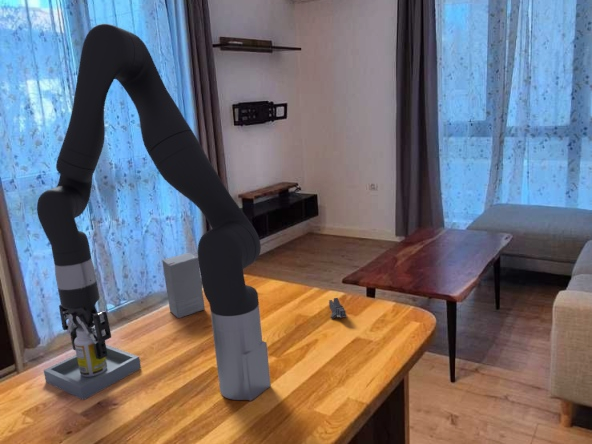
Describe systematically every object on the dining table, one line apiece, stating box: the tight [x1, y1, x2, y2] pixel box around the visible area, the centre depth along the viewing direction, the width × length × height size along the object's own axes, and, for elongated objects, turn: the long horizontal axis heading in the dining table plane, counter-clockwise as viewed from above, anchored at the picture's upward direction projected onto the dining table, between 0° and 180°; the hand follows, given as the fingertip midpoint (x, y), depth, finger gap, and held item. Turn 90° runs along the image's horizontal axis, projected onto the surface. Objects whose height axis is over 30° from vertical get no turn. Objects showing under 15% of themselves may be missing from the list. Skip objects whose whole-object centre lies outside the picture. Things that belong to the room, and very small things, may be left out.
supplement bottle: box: [74, 325, 107, 377], centre depth 110 cm, size 6×6×10 cm
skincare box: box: [161, 252, 206, 319], centre depth 140 cm, size 8×7×16 cm
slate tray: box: [43, 344, 142, 401], centre depth 111 cm, size 14×14×3 cm
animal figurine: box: [328, 297, 348, 320], centre depth 131 cm, size 12×4×5 cm, turn 12°
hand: (90, 353), depth 110 cm, fingers open, 8 cm apart
